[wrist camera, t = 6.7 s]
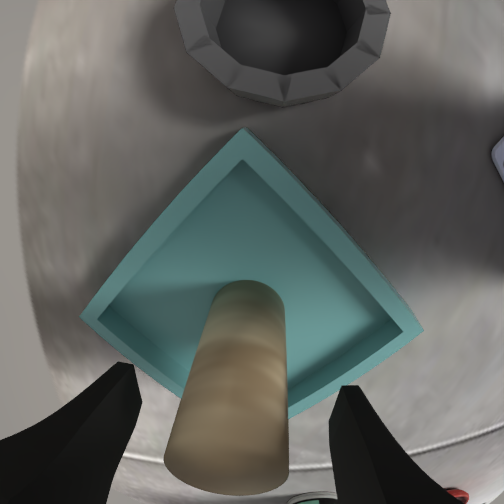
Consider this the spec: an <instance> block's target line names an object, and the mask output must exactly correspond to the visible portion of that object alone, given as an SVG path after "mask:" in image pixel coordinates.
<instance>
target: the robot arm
mask: <svg viewBox="0 0 504 504" xmlns="http://www.w3.org/2000/svg"><path fill="white" fill-rule="evenodd" d="M492 160H493V162H494V164H495V166H496V168H497V170H498V172H499V174H500V176H501V178H502V180H503V182H504V166H503V162H504V136H503V138H502V139H501V140H500V141H499V142H498V143H497V144H496V145H495V146H494V148H493V149H492ZM141 405H142V399H141V395H140V391H139V387H138V382H137V378H136V374H135V369H134V365H133V364H128V363H123V362H117V363H116V364H115V365H113V366H112V367H111V368H110V369H109V370H108V371H106V372H105V373H104V374H103V375H102V376H101V377H99V378H98V379H97V380H96V381H95V382H93V383H92V384H91V385H90V386H89V387H87V388H86V389H85V390H84V391H83V392H81V393H80V394H79V395H78V396H76V397H75V398H74V399H73V400H71V401H70V402H69V403H67V404H66V405H64V406H63V407H62V408H60V409H59V410H58V411H56V412H55V413H53V414H52V415H50V416H49V417H47V418H45V419H44V420H42V421H40V422H38V423H37V424H35V425H33V426H31V427H29V428H27V429H25V430H23V431H21V432H19V433H17V434H14V435H12V436H10V437H7V438H5V439H2V440H0V504H106V502H107V498H108V494H109V491H110V487H111V484H112V480H113V477H114V475H115V472H116V469H117V467H118V465H119V462H120V460H121V458H122V456H123V453H124V451H125V449H126V446H127V444H128V442H129V440H130V437H131V435H132V433H133V430H134V428H135V426H136V423H137V419H138V416H139V412H140V409H141ZM329 446H330V453H331V459H332V466H333V472H334V479H335V486H336V492H337V501H338V504H465V503H463V502H462V501H460V500H459V499H457V498H456V497H454V496H453V495H451V494H450V493H449V492H447V491H446V490H445V489H444V488H442V487H441V486H440V485H439V484H437V483H436V482H435V481H434V480H432V479H431V478H430V477H429V476H428V475H427V474H426V473H425V472H424V471H423V470H422V469H421V468H420V467H419V466H418V465H417V464H416V463H415V462H414V461H413V460H412V459H411V458H410V457H409V455H408V454H407V453H406V452H405V451H404V450H403V448H402V447H401V446H400V445H399V443H398V442H397V441H396V440H395V438H394V437H393V436H392V434H391V433H390V432H389V430H388V429H387V427H386V426H385V425H384V423H383V422H382V421H381V419H380V418H379V416H378V415H377V413H376V412H375V410H374V409H373V407H372V406H371V404H370V402H369V401H368V399H367V398H366V396H365V395H364V393H363V391H362V390H361V388H360V387H359V386H358V385H341V388H340V391H339V394H338V397H337V400H336V403H335V406H334V408H333V411H332V414H331V417H330V419H329Z"/></svg>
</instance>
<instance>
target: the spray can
mask: <svg viewBox="0 0 504 504" xmlns="http://www.w3.org/2000/svg"><path fill="white" fill-rule="evenodd" d="M287 504H338V501H337V493H332V492H312V493H306V494H302V495H298V496H296V497H293V498H292V499H290V500H289V501H288V503H287Z"/></svg>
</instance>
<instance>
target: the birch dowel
mask: <svg viewBox="0 0 504 504" xmlns="http://www.w3.org/2000/svg"><path fill="white" fill-rule="evenodd" d="M164 464H165V466H166V467H167V469H168V470H169V471H170V472H171V473H172V474H173V475H174V476H175V477H176V478H178V479H179V480H181V481H183V482H184V483H186V484H188V485H191V486H193V487H195V488H198V489H201V490H204V491H208V492H212V493H217V494H223V495H235V496H243V495H255V494H261V493H265V492H268V491H271V490H274V489H276V488H278V487H279V486H281V485H282V484H283V483H284V482H285V481H286V480H287V478H288V475H289V433H288V384H287V351H286V324H285V307H284V304H283V301H282V299H281V297H280V296H279V295H278V293H277V292H276V291H275V290H274V289H272V288H271V287H269V286H268V285H266V284H264V283H261V282H258V281H254V280H239V281H235V282H232V283H229V284H227V285H225V286H224V287H223V288H221V289H220V290H219V291H218V292H217V294H216V295H215V297H214V299H213V301H212V304H211V307H210V311H209V314H208V317H207V320H206V323H205V326H204V329H203V332H202V335H201V338H200V341H199V344H198V348H197V351H196V354H195V357H194V360H193V363H192V366H191V370H190V373H189V376H188V379H187V382H186V385H185V389H184V392H183V395H182V398H181V401H180V405H179V408H178V411H177V414H176V418H175V421H174V424H173V427H172V431H171V434H170V437H169V441H168V444H167V447H166V451H165V454H164Z"/></svg>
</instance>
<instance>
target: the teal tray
mask: <svg viewBox="0 0 504 504" xmlns="http://www.w3.org/2000/svg"><path fill="white" fill-rule="evenodd" d="M239 280H254V281H258V282H261V283H264V284H266V285H268V286H269V287H271V288H272V289H274V290H275V291H276V292H277V293H278V295H279V296H280V297H281V299H282V301H283V304H284V307H285V324H286V351H287V384H288V419H290V418H292V417H293V416H295V415H297V414H299V413H301V412H303V411H304V410H306V409H308V408H310V407H311V406H313V405H315V404H317V403H318V402H320V401H322V400H323V399H325V398H327V397H328V396H330V395H332V394H333V393H335V392H337V391H338V390H340V388H341V385H348V384H350V383H351V382H353V381H354V380H356V379H357V378H359V377H360V376H362V375H363V374H365V373H366V372H368V371H369V370H371V369H372V368H374V367H375V366H377V365H378V364H380V363H381V362H382V361H384V360H385V359H387V358H388V357H390V356H391V355H392V354H394V353H395V352H396V351H398V350H399V349H401V348H402V347H403V346H405V345H406V344H407V343H409V342H410V341H411V340H413V339H414V338H415V337H416V336H418V335H419V334H420V333H422V332H423V331H424V330H423V328H422V327H421V325H420V323H419V322H418V320H417V318H416V317H415V315H414V313H413V312H412V310H411V309H410V308H409V306H408V305H407V304H406V303H405V301H404V300H403V299H402V298H401V296H400V295H399V294H398V293H397V291H396V290H395V289H394V288H393V286H392V285H391V284H390V283H389V281H388V280H387V279H386V278H385V276H384V275H383V274H382V273H381V272H380V270H379V269H378V268H377V267H376V266H375V264H374V263H373V262H372V261H371V260H370V258H369V257H368V256H367V255H366V254H365V252H364V251H363V250H362V249H361V248H360V247H359V245H358V244H357V243H356V242H355V241H354V240H353V239H352V237H351V236H350V235H349V234H348V233H347V232H346V231H345V229H344V228H343V227H342V226H341V225H340V224H339V223H338V221H337V220H336V219H335V218H334V217H333V216H332V215H331V214H330V213H329V212H328V210H327V209H326V208H325V207H324V206H323V205H322V204H321V203H320V202H319V201H318V200H317V198H316V197H315V196H314V195H313V194H312V193H311V192H310V191H309V190H308V189H307V188H306V187H305V186H304V185H303V184H302V182H301V181H300V180H299V179H298V178H297V177H296V176H295V175H294V174H293V173H292V172H291V171H290V170H289V169H288V168H287V167H286V166H285V165H284V164H283V163H282V162H281V161H280V160H279V159H278V158H277V157H276V156H275V155H274V154H273V153H272V152H271V151H270V150H269V149H268V148H267V147H266V146H265V145H264V144H263V143H262V142H261V141H260V140H259V139H258V138H257V137H256V136H255V135H254V134H253V133H252V132H251V131H250V130H249V129H248V128H247V127H246V128H242V129H241V130H240V131H239V132H237V133H236V134H235V135H234V136H233V137H232V138H231V139H230V140H229V141H228V142H227V144H226V145H225V146H224V147H223V148H222V149H221V150H220V151H219V152H218V153H217V154H216V155H215V156H214V157H213V158H212V159H211V160H210V161H209V162H208V163H207V164H206V165H205V166H204V167H203V168H202V169H201V170H200V172H199V173H198V174H197V175H196V176H195V177H194V178H193V179H192V180H191V181H190V182H189V183H188V184H187V186H186V187H185V188H184V189H183V190H182V191H181V192H180V193H179V194H178V195H177V197H176V198H175V199H174V200H173V201H172V202H171V203H170V204H169V206H168V207H167V208H166V209H165V210H164V211H163V212H162V213H161V215H160V216H159V217H158V218H157V219H156V220H155V222H154V223H153V224H152V225H151V226H150V227H149V229H148V230H147V231H146V232H145V233H144V234H143V236H142V237H141V238H140V239H139V240H138V242H137V243H136V244H135V245H134V247H133V248H132V249H131V250H130V251H129V253H128V254H127V255H126V256H125V258H124V259H123V260H122V261H121V263H120V264H119V265H118V266H117V268H116V269H115V270H114V271H113V273H112V274H111V275H110V276H109V278H108V279H107V280H106V282H105V283H104V284H103V285H102V287H101V288H100V289H99V291H98V292H97V293H96V295H95V296H94V297H93V299H92V300H91V301H90V303H89V304H88V305H87V307H86V308H85V309H84V311H83V312H82V314H81V315H80V316H79V317H80V318H81V319H82V320H83V321H84V322H85V323H86V324H87V325H88V326H90V327H91V328H92V329H93V330H94V331H95V332H96V333H97V334H99V335H100V336H101V337H102V338H103V339H104V340H105V341H107V342H108V343H109V344H110V345H111V346H113V347H114V348H115V349H116V350H117V351H119V352H120V353H121V354H122V355H123V356H125V357H126V358H127V359H128V360H130V361H131V362H132V363H133V364H135V365H136V366H137V367H139V368H140V369H141V370H142V371H144V372H145V373H146V374H148V375H149V376H150V377H152V378H153V379H154V380H156V381H157V382H158V383H160V384H161V385H163V386H164V387H165V388H167V389H168V390H169V391H171V392H172V393H174V394H175V395H177V396H178V397H179V398H182V395H183V392H184V389H185V385H186V382H187V379H188V376H189V373H190V370H191V366H192V363H193V360H194V357H195V354H196V351H197V348H198V344H199V341H200V338H201V335H202V332H203V329H204V326H205V323H206V320H207V317H208V314H209V311H210V307H211V304H212V301H213V299H214V297H215V295H216V294H217V292H218V291H219V290H220V289H221V288H223V287H224V286H225V285H227V284H229V283H232V282H235V281H239Z"/></svg>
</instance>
